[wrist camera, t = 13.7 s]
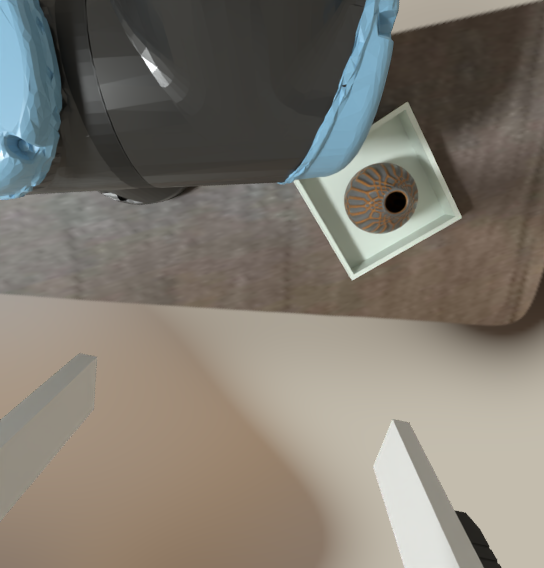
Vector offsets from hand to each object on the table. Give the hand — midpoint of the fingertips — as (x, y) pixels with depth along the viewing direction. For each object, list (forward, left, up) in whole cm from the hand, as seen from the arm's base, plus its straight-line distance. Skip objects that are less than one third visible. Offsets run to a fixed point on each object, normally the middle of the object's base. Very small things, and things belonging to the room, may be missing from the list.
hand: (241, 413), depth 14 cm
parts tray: (0, +14, -27) cm, 30 cm away
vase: (-1, +14, -26) cm, 30 cm away
